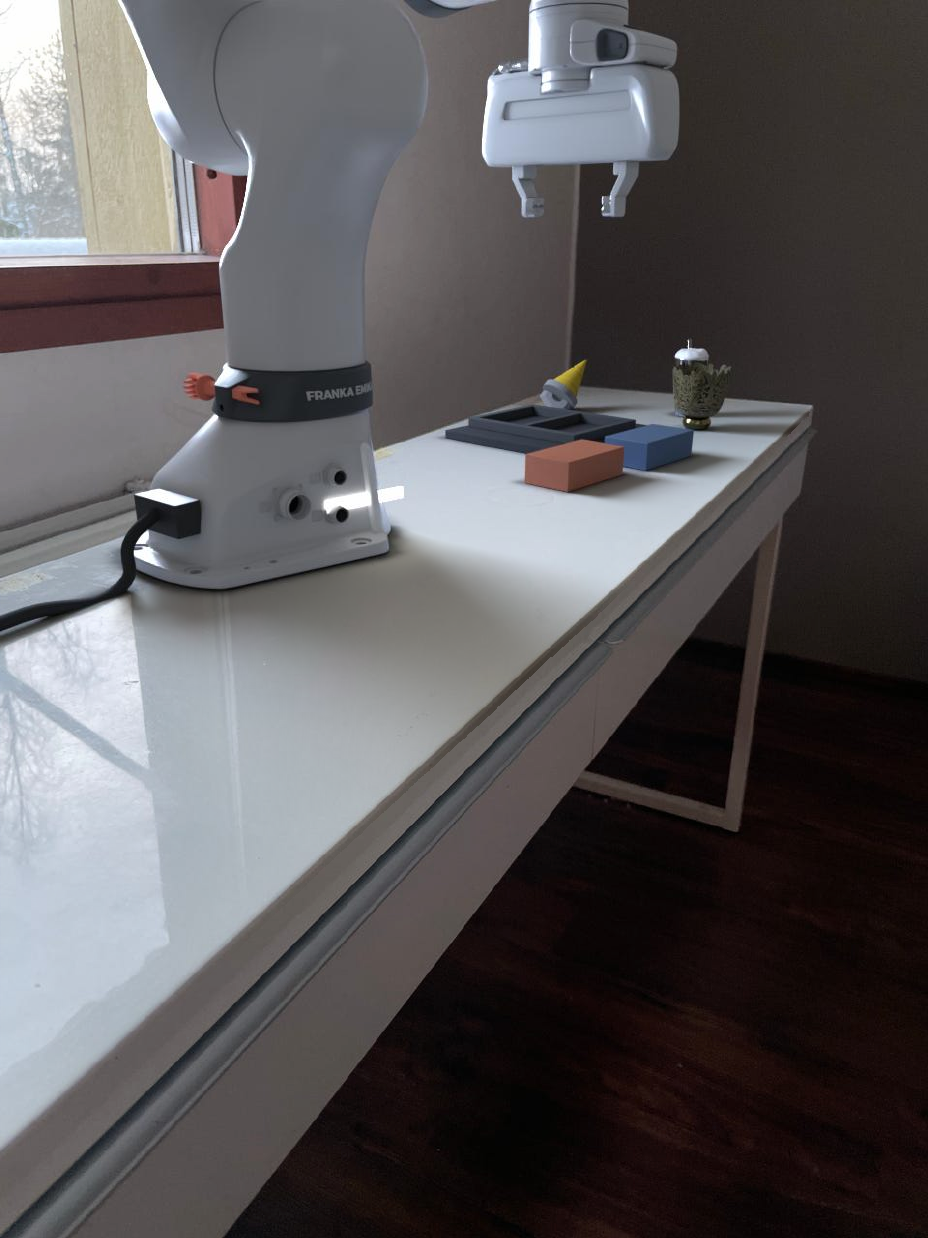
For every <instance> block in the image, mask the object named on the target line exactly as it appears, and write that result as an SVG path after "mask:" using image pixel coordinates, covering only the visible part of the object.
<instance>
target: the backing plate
mask: <svg viewBox="0 0 928 1238" xmlns="http://www.w3.org/2000/svg"><path fill="white" fill-rule="evenodd" d="M467 420H468V421H467V425H461V426H459V427H454V428H448V429H445V430H444V434H445V435H444V439H448V440H454V441H460V442H464V443H470V444H476V445H480V446H486V447H491V448H495V449H501V450H505V451H506V450H507V451H511V452H512V451H513V452H518V453H523V454H528V453H532V452H536V451H540V450H544V449H547V448H551V447H555V446H559V445H563V444H566V443H570V442H574V441H578V440H582V439H583V440H588V441H594V442H600V443H605V437H606V436H609V435H613V434H617V433H621V432H624V431H628V430H632V429H636V428H639V427H643V426H647V425H648V424H643V423H638V422H637V419H635V418H634V419H633V418H628V417H621V416H613V415H607V414H601V413H594V412H586V411H580V410H573V409H572V410H567V409H561V408H554V407H547V406H546V405H541V404H535V403H534V404H533V403H532V404H527V405H523V406H517V407H513V408H508V409H503V410H498V411H493V412H489V413H484V414H479V415H473V416H470V417H468V418H467Z"/></svg>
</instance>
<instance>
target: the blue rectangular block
mask: <svg viewBox="0 0 928 1238" xmlns="http://www.w3.org/2000/svg"><path fill="white" fill-rule="evenodd" d="M646 425H647V426H643V427H639V428H636V429H632V430H628V431H624V432H621V433H617V434H613V435H609V436H606V437H605V443H606V444H612V445H618V446H624V461H623V468H628V469H633V470H640V471H644V472H646V471H650V470H652V469H656V468H658V467H662V466H664V465H667V464H670V463H674V462H676V461H680V460H683V459H686V458H689V457H692V456H693V455H692V454H693V445H694V435H695V434H694V433H695V430H692V429H687V428H682V427H675V426H670V425H664V424H663V425H662V424H656V423H651V424H646Z"/></svg>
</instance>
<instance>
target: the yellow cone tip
mask: <svg viewBox="0 0 928 1238" xmlns="http://www.w3.org/2000/svg"><path fill="white" fill-rule="evenodd" d="M587 360H588V359H584V360H582V361H581V362H579V363H577V364H576V365H574V367H571V368H570V369H568V370H566V371H565V372H563V373H562V374H560V375H558V376H557V377H555V378H554V379H551V378H550V379H547V380H546V382H545V383H544V384H543V386H542V392H541V393H540V395H539V398H540V399H541V400H542V402H543V403H544V406H547V407H554V408H561V409H567V410H573V409H574V408H575V407H576V406H577V405H578V398H577V397H578V393H579V390H580V386H581V382H582V379H583V376H584V371H585V369H586V364H587Z"/></svg>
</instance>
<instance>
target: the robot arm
mask: <svg viewBox="0 0 928 1238" xmlns="http://www.w3.org/2000/svg"><path fill="white" fill-rule="evenodd" d="M496 1H498V0H403V2H404V3H405V4H406V5H407V6H408V7H409V8H411V9H412V10H413V11H414V12H416V13H418V14H420V15H422V16H424V17H427V18H432V19H441V18H442V19H443V18H446V17H448V16H451V15H454V14H456V13H459V12H462V11H465V10H468V9H471V8H473V7H474V6H477V5H482V4H487V3H492V2H496ZM118 3H119V5H120V6H121V8H122V10H123V13H124V15H125V18H126V19H127V21H128V24H129V26H130V29H131V31H132V34H133V36H134V38H135V40H136V43H137V45H138V48H139V50H140V53H141V55H142V58H143V60H144V63H145V66H146V69H147V85H146V86H147V91H146V92H147V101H148V105H149V110H150V114H151V117H152V119H153V122H154V124H155V126H156V129H157V130H158V131H159V134H160V135H161V137H162V138H163V140H164V141H165V143H166V144H167V145H168V146H169V147H170V148H171V149H172V150H173V151H174V152H175V153H176V154H177V155H178V156H180V157H182V158H183V159H184V160H186V161H188V162H190V163H192V164H194V165H198V166H200V167H202V168H206V169H208V170H211V171H215V172H218V173H222V174H225V175H229V176H235V177H243V176H246V177H247V182H246V190H245V196H244V201H243V206H242V209H241V215H240V218H239V222H238V225H237V227H236V230H235V232H234V234H233V236H232V238H231V239H230V241H229V242H228V243H227V244H226V246H225V247H224V249H223V251H222V254H221V256H220V260H219V267H218V275H219V284H220V295H221V309H222V320H223V331H224V342H225V353H226V354H225V355H226V363H225V364H224V365H223V366H222V369H221V371H220V375H219V377H218V378H217V380H216V379H215V378H214V377H213V376H212V375H209V374H201V373H199V372H190V373H189V374H187V375H186V376H185V378H186V379H185V380H183V384H185V385H183V386H182V388H183V389H186V390H184V393H185V394H186V395H187V394H188V395H187V397H188V398H190V399H192V400H193V399H194V400H201V401H204V402H209V401H211V400H213V401H212V406H211V412H212V413H213V415H211V417H210V418H209V419H208V420H207V421H206V422H205V423H204V424H203V425H202V426H201V427H200V428H199V429H198V431H196V433H195V434H194V435H192V437H191V438H190V439H189V440H188V441H187V442H186V443H185V444H184V445H183V446H182V447H181V448H180V449H179V450H178V451H177V452H176V453H175V454H174V455H173V456H172V458H170V460H168V461H167V462H166V464H164V465H163V466H162V468H161V469H159V470H158V471H157V472H156V474H154V476H153V479H152V480H151V485H150V489H149V490H147V491H143V492H138V493H135V494H133V499H134V505H135V507H134V508H135V513H136V514H135V515H136V522H134V523H133V524H132V526H131V527H130V528H129V529H128V531H127V532H126V533H125V535H124V537H123V539H122V541H121V545H120V551H119V553H120V561H121V566H122V574H121V576H120V577H119V578H118V579H117V580H116V582H115V583H113V585H112V586H111V587H109V588H107V589H106V590H105V591H103V592H100V593H98V594H95V595H92V596H87V597H80V598H73V599H72V598H71V599H62V600H61V599H60V600H51V601H44V602H38V603H34V604H30V605H26V606H24V607H21V608H17V609H14V610H11V611H9V612H7V613H4V614H1V615H0V633H2V632H3V631H7V630H8V629H11V628H14V627H16V626H19V625H22V624H24V623H28V622H31V621H34V620H36V619H42V618H46V617H52V616H58V615H63V614H67V613H71V612H75V611H77V610H81V609H83V608H87V607H90V606H92V605H93V606H94V605H96V604H98V603H101V602H103V601H107V600H110V599H112V598H116V597H119V596H121V595H124V594H125V593H126V592H127V591H128V590H129V588H130V587H131V586H132V585H133V583H134V582H135V580H136V577H137V571H139V572H142V573H144V574H145V575H148V576H150V577H153V578H156V579H157V580H158V579H159V580H162V581H164V582H168V583H172V584H176V585H180V586H185V587H189V588H190V587H191V588H197V589H198V588H199V589H209V590H226V589H232V588H236V587H241V586H245V585H249V584H254V583H258V582H263V581H267V580H272V579H276V578H281V577H285V576H289V575H293V574H294V575H295V574H299V573H302V572H308V571H311V570H316V569H321V568H326V567H329V566H330V567H331V566H333V565H339V564H342V563H348V562H353V561H355V560H361V559H365V558H370V557H375V556H378V555H382V554H386V553H387V552H389V551H390V544H389V537H388V535H389V534H390V532H391V530H392V526H391V522H390V520H389V517H388V514H387V510H386V508H385V504H384V503H385V502H389V501H394V500H398V499H403V498H404V486H402V485H400V486H399V485H398V486H395V487H389V488H384V489H381V486H380V482H379V475H378V471H377V470H378V469H377V464H376V458H375V450H374V446H373V445H374V444H373V440H372V439H373V437H372V432H371V431H372V430H371V423H370V412H371V407H373V405H374V394H373V393H374V392H373V391H374V385H373V374H372V364H371V363H370V362H369V361H368V360H367V354H366V316H365V313H366V312H365V311H366V310H365V309H366V308H365V305H366V304H365V303H366V302H365V300H366V297H365V295H366V294H365V292H366V291H365V290H366V289H365V283H366V282H365V274H366V260H367V251H368V245H369V240H370V233H371V229H372V225H373V221H374V218H375V213H376V210H377V206H378V204H379V199H380V197H381V193H382V190H383V188H384V185H385V182H386V180H387V178H388V176H389V173H390V171H391V169H392V167H393V166H394V164H395V162H396V160H397V159H398V158H399V156H400V154H401V153H402V152H403V150H404V149H405V148H406V147H407V145H409V144H410V142H411V141H412V140H413V138H414V137H415V136H416V134H417V133H418V131H419V129H420V127H421V125H422V124H423V123H422V122H423V120H424V117H425V113H426V110H427V106H428V99H429V70H428V69H429V68H428V63H427V58H426V54H425V49H424V47H423V44H422V41H421V39H420V36H419V34H418V32H417V30H416V28H415V26H414V25H413V23H412V21H411V19H409V17H408V16H407V14H406V13H405V12H404V10H403V9H402V8H401V7H399V6H398V4H397V3H395V2H393V1H392V0H118ZM629 10H630V9H629V0H530V3H529V10H528V55H527V56H528V57H524V58H520V59H517V60H510V59H509V60H504V61H502V62H500V63H499V64H498V67H496V68H495V69H494V70H493V71H492V73H491V75H490V76H489V77H488V80H487V98H486V102H485V103H486V104H485V108H484V109H485V110H484V118H483V126H482V127H483V128H482V141H481V154H482V158H483V159H484V162H485V163H486V165H487V166H488V167H489V168H490V167H491V168H512V176H511V179H512V182H513V183H514V186H515V188H516V190H517V193H518V195H519V197H520V199H521V216H522V217H523V218H543V216H545V215H544V214H545V209H544V206H545V197H539V196H538V194H537V191H536V188H535V185H534V182H533V180H535V179H537V173H538V172H537V171H538V170H537V168H538V167H545V166H546V167H548V166H549V167H550V166H566V165H567V166H569V165H571V166H572V165H590V164H610V163H611V164H612V163H613V165H612V166H613V167H612V173H613V176H617V179H616V180H615V183H614V184H613V187H612V189H611V191H610V194H609V195H603V196H601V197H602V198H601V205H602V208H601V215H602V217H603V218H623V217H624V216H625V215H626V203H627V196H628V195H629V193H630V191H631V190H632V188H633V186H634V185H635V183H636V180H637V179H638V177H639V168H640V162H654V161H655V162H656V161H668V160H669V159H670V158H671V157H672V155H673V153H674V152H675V150H676V148H677V146H678V143H679V133H680V132H679V131H680V90H679V89H680V88H679V83H678V80H677V78H676V76H675V74H674V73H673V72H672V71H671V70H670V68H672V67H673V66H675V63H676V61H677V56H678V45H677V43H676V41H674V40H673V39H670V38H668V37H664V36H661V35H659V34H655V33H651V32H648V31H644V29H643V28H641V27H639V26H635V25H629V12H630V11H629ZM187 378H188V379H187Z"/></svg>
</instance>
